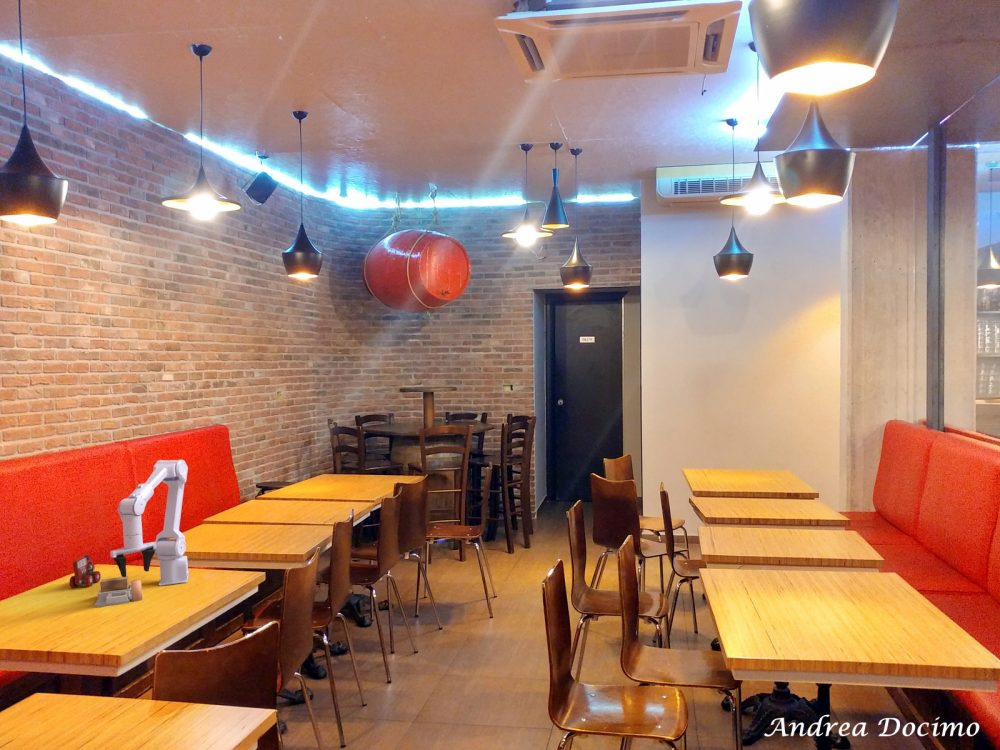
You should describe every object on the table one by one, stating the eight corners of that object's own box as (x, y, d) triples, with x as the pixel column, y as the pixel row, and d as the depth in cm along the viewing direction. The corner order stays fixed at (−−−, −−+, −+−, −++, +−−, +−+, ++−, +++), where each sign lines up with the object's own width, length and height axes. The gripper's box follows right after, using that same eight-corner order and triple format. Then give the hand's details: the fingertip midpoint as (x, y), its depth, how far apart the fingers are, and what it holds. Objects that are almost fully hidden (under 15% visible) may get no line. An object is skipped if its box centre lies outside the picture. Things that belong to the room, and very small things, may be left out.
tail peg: (142, 597, 266) (141, 579, 266) (141, 600, 263) (140, 581, 263) (132, 599, 265) (131, 580, 265) (131, 601, 262) (129, 582, 262)
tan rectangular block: (128, 591, 272) (127, 576, 271) (127, 593, 268) (126, 578, 268) (102, 594, 269) (101, 579, 269) (101, 597, 266) (100, 582, 266)
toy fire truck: (103, 579, 292) (102, 551, 291) (86, 589, 279) (84, 560, 279) (85, 579, 292) (83, 552, 291) (66, 590, 279) (65, 561, 279)
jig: (134, 591, 274) (133, 583, 274) (129, 602, 261) (128, 595, 261) (101, 595, 271) (101, 588, 270) (94, 607, 257) (93, 599, 257)
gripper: (148, 528, 271) (150, 566, 272) (105, 536, 260) (108, 577, 261) (158, 530, 267) (160, 569, 267) (114, 539, 256) (117, 580, 256)
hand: (135, 573), depth 264 cm, fingers open, 7 cm apart
